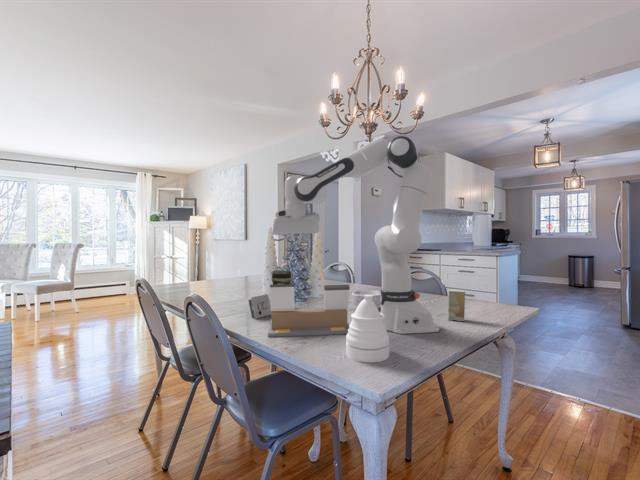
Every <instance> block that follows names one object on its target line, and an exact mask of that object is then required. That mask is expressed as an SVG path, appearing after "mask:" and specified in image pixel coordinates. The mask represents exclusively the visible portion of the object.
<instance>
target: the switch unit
mask: <svg viewBox="0 0 640 480" xmlns="http://www.w3.org/2000/svg"><path fill="white" fill-rule="evenodd" d="M271 311H272V313H271V315H270V317H271V322H270V323H269V326H268V333H267V337H268V338H274V337H276V338H278V337H299V336H301V337H302V336H303V337H305V336H321V335H323V336H325V335H326V336H327V335H347V333H348V329H349V325H350V323H348V309H334V310H324V307H323V308H299V309H297V308H295V310H271Z"/></svg>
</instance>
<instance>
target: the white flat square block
mask: <svg viewBox="0 0 640 480" xmlns="http://www.w3.org/2000/svg"><path fill="white" fill-rule="evenodd" d="M323 288H324V289H323V290H324V291H323V308H324V310H334V309H346V310H348V309H349V296H350V288H351V287H350V284H325V285H323Z"/></svg>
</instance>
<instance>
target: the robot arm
mask: <svg viewBox="0 0 640 480" xmlns="http://www.w3.org/2000/svg"><path fill="white" fill-rule="evenodd" d="M383 166H387V168H388V169H389V170H390V171H391V172H392V173H393V174H394V175H396V176H397V177H398V178H401V179H402V180H401V182H400V185H399V188H398V190H397V194H396V196H395V199H394V201H393V204H392V211H393V213H392V221H391V224H390V225H385V226H382V227H381V228H379V229H378V230H377V231H376V233H375V235H374V242H375V245H376V248H377V252H378V258H379V263H380V271H381V289H380V292H381V293H380V302H381V305H380V311H379V312H380V313H382V314H384V315H385V319H383V323H384V325H385V326H386V328H385V329H386V331H387V332H388V331H389V332H393V333H395V334H399V335H401V334H402V335H406V334H422V333H424V334H425V333H427V334H428V333H439V331H440V327H439V325H438V323H436V322H435V321H434V320H433V316H432V313H431V311H430V310H429V309H428V308H427V307H426V306H424V304H423V303H421V302H420V301H418V299H420V297H421V295H420V293H418V292H417V291H414V290H412V270H411V269H412V268H411V267H410V265H409V263H408V259H407V256H406V255H408V254H412V253H415V252H416V251H417V250H418V249H419V248H420V246H421V243H422V236H421V232H420V223H421V218H422V217H421V216H422V213H423V210H424V207H425V204H426V201H427V199H428V196H429V193H430V190H431V186H432V180H433V171H432V169H431V168H430V167H429V166H428V165H425V164H422V163H420V162H419V155H418V152H417V147H416V145H415V143H414V141H413V140H412V139H411V138H409V137H408V136H405V135H404V136H403V135H400V136H396V137H394V138H392V139H391V140H390V141H389V140H387V139H385V138H382V137H380V138H377V139H373V140H372V141H370V142H367V143H366V144H364V145H361V146H360V147H359V148H357V149H355V150H353V152H351V153H349V154H348V155H346V156H344V157H343V158H341V159H340V160H337V161H335V162H333V163H331V164H330V165H328V166H327V167H325V168H323V169H321V170H320V171H316V172H315V173H313V174H307V175H304V176H302V175H299V174H294V175H293V174H292V175H290V176H289V177H287V178H286V179H285V182H284V199H285V204H284V209H281V210H278V211H276V212H275V214H274V215H275V219H274V220H273V225H272V226H273V227H272V234H273V235H275V236H281V235H282V236H283V235H284V236H285V235H290V238H291V240H292V241H293V245H301V241H302V238H303V235H305V234H308V235H309V234H319V232H320V230H321V229H320V215H319V213H317V212H315V211H314V212H307V211H306V204H311V205H317V204H321V203H323V202H324V200H325V199H326V197H327V189H326V187H327V186H328V185H331V184H332V183H334V182H336V181H337V180H340V179H343V178H353V179H359V178H362V177H365V176H367V175H369V174H371V173H373V172H374V171H376V170H377V169H379V168H380V167H383ZM295 235H298V236H299V238H298V239H295Z"/></svg>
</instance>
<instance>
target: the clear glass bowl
mask: <svg viewBox="0 0 640 480" xmlns="http://www.w3.org/2000/svg"><path fill="white" fill-rule="evenodd" d="M380 293H381V290H380V291H379V290H366V289H365V290H358V291H357V290H355V291H353V292H351V303H352V304H353V305H354V306H355V309H357V307H358V305H359V304H360V302H361V301H362V300H364V299H365V298H364V295H373V299H372V301H373V302H374V304H375V305H376V307H377V308H378V310H379V309H380V308H381V302H380Z"/></svg>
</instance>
